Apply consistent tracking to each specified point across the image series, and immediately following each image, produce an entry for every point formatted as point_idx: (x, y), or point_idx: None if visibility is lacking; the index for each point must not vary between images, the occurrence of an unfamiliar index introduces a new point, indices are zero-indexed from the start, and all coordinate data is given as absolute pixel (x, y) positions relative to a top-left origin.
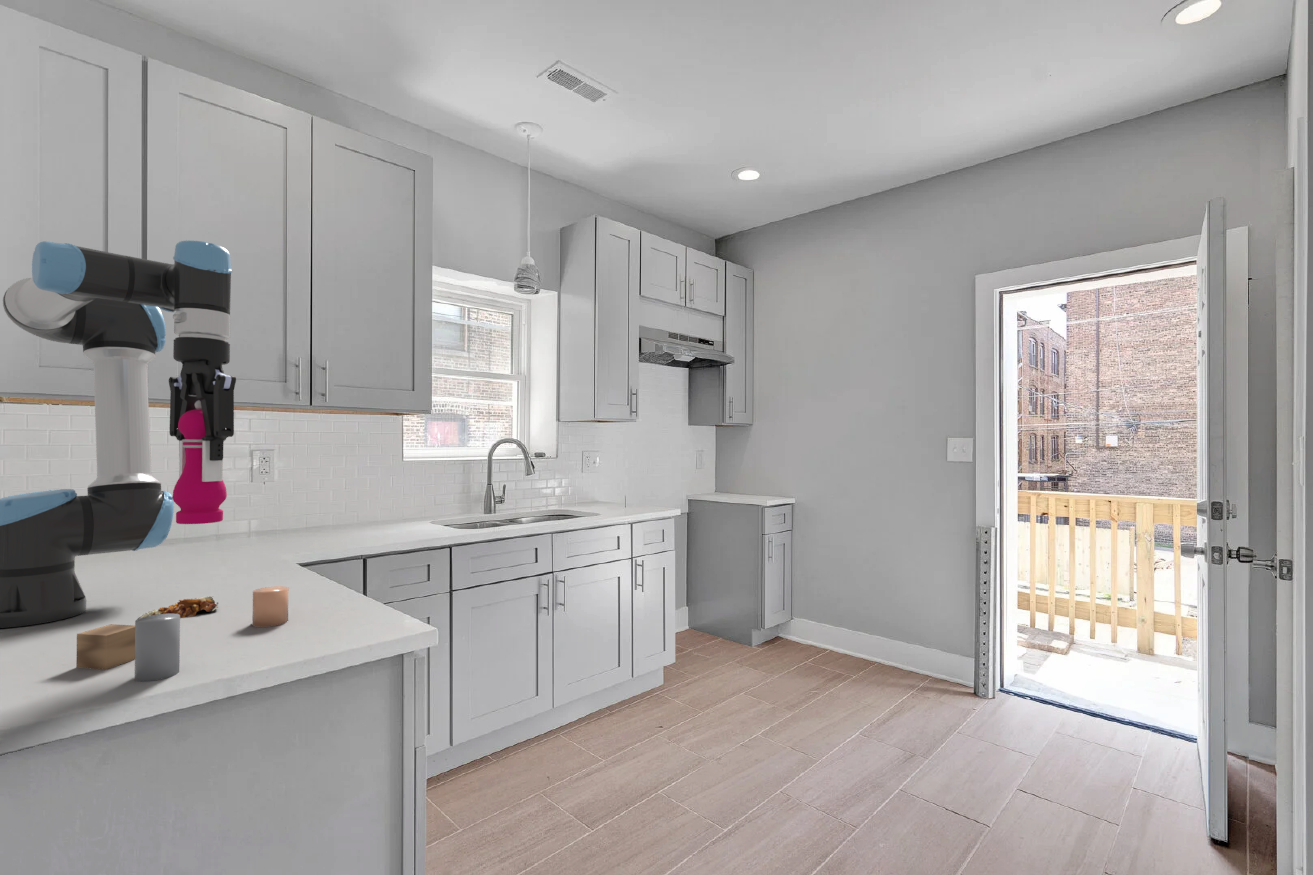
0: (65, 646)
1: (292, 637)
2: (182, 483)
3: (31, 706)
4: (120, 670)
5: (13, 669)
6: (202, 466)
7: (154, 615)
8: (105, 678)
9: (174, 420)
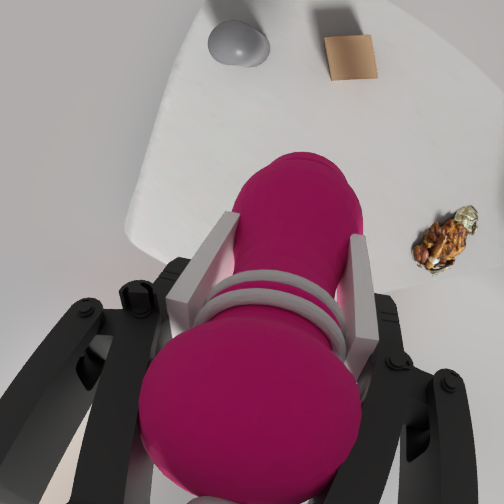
0: (457, 101)
1: (228, 188)
2: (287, 183)
3: None
4: (304, 44)
5: (424, 26)
6: (223, 237)
7: (251, 48)
8: (292, 23)
9: (438, 443)
